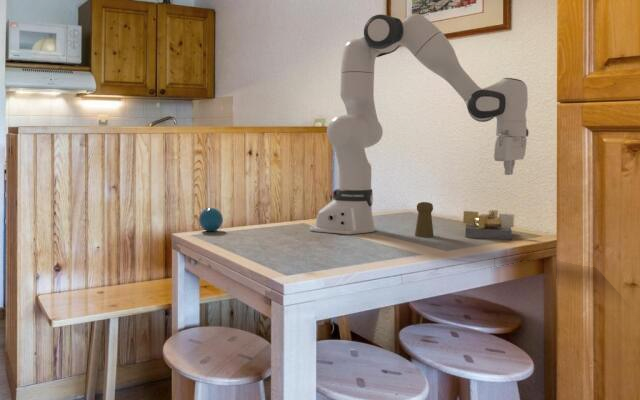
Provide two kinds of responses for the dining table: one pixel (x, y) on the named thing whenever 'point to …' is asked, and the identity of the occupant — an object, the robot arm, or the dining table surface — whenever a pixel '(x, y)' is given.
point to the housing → (488, 232)
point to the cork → (424, 220)
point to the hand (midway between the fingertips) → (508, 174)
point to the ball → (210, 219)
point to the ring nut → (489, 219)
